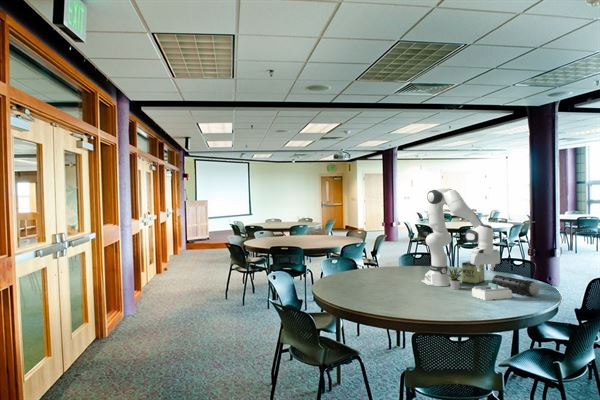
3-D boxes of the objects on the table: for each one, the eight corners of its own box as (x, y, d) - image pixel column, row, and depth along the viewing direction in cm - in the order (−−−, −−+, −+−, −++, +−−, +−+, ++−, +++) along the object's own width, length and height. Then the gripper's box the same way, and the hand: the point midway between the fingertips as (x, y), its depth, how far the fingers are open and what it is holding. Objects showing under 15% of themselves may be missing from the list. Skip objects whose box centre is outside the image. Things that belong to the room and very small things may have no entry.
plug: (481, 295, 250) (481, 286, 250) (486, 294, 251) (486, 285, 251) (485, 296, 246) (485, 287, 246) (491, 296, 247) (491, 287, 247)
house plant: (469, 292, 264) (468, 268, 264) (447, 291, 267) (447, 267, 267) (464, 287, 278) (464, 264, 278) (444, 286, 281) (443, 264, 281)
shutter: (488, 287, 254) (488, 282, 254) (498, 286, 255) (498, 282, 255) (496, 290, 247) (496, 285, 247) (506, 289, 249) (506, 284, 249)
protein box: (461, 283, 292) (461, 262, 292) (471, 280, 302) (470, 260, 302) (475, 285, 284) (475, 264, 284) (484, 282, 294) (484, 261, 294)
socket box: (472, 295, 253) (471, 286, 253) (497, 293, 258) (497, 284, 258) (485, 300, 242) (484, 290, 242) (511, 298, 247) (511, 288, 247)
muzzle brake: (501, 288, 274) (500, 273, 274) (540, 297, 249) (539, 281, 249) (491, 289, 270) (491, 275, 270) (530, 298, 244) (530, 282, 244)
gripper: (495, 248, 255) (495, 269, 255) (468, 249, 250) (468, 270, 250) (502, 250, 248) (502, 271, 249) (475, 251, 244) (475, 272, 244)
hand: (485, 271), depth 249 cm, fingers open, 8 cm apart
